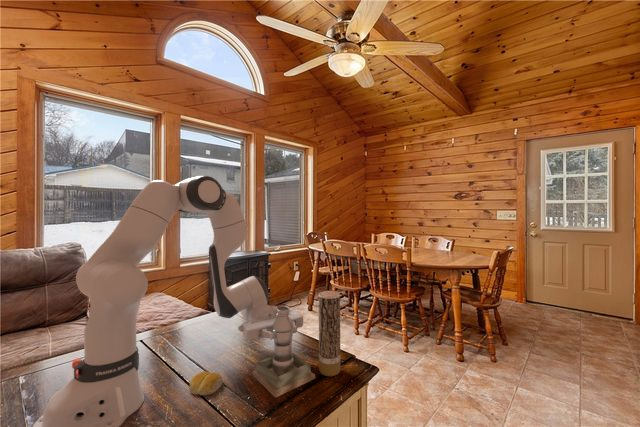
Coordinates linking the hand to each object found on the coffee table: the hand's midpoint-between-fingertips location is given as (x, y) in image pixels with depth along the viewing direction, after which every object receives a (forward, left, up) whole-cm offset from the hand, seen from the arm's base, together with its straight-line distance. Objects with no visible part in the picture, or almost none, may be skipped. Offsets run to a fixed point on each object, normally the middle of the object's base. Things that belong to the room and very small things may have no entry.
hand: (284, 333), depth 89 cm
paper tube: (+13, -6, -14) cm, 20 cm away
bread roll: (-20, +11, -14) cm, 27 cm away
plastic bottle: (0, +1, -13) cm, 13 cm away
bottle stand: (0, +1, -14) cm, 14 cm away
